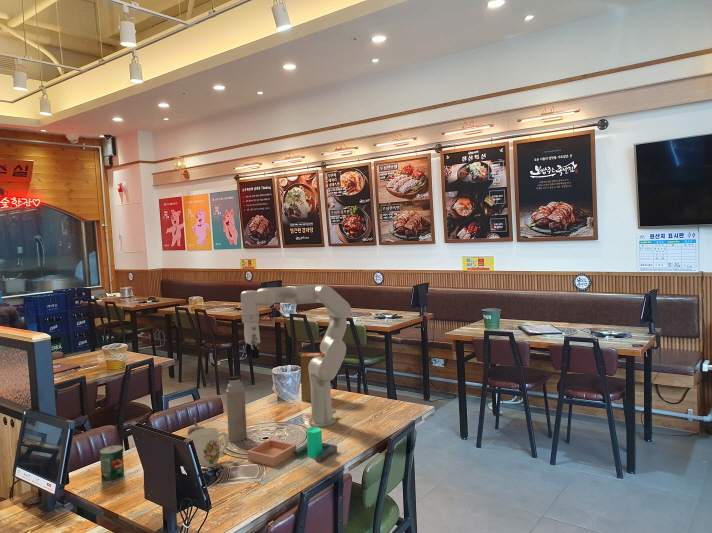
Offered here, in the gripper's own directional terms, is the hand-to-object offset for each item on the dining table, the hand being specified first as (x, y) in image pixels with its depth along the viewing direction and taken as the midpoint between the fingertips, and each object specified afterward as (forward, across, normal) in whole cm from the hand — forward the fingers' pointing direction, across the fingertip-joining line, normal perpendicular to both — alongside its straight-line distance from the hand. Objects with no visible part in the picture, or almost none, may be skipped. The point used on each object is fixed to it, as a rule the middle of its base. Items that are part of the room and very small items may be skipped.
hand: (252, 356), depth 229 cm
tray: (+37, -25, 0) cm, 44 cm away
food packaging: (+37, +37, -43) cm, 68 cm away
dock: (+37, -33, -16) cm, 52 cm away
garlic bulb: (+37, +17, +24) cm, 47 cm away
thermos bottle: (+37, +2, +8) cm, 38 cm away
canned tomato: (+37, -12, +59) cm, 70 cm away
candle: (+37, -33, -16) cm, 52 cm away
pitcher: (+37, -19, +24) cm, 48 cm away
